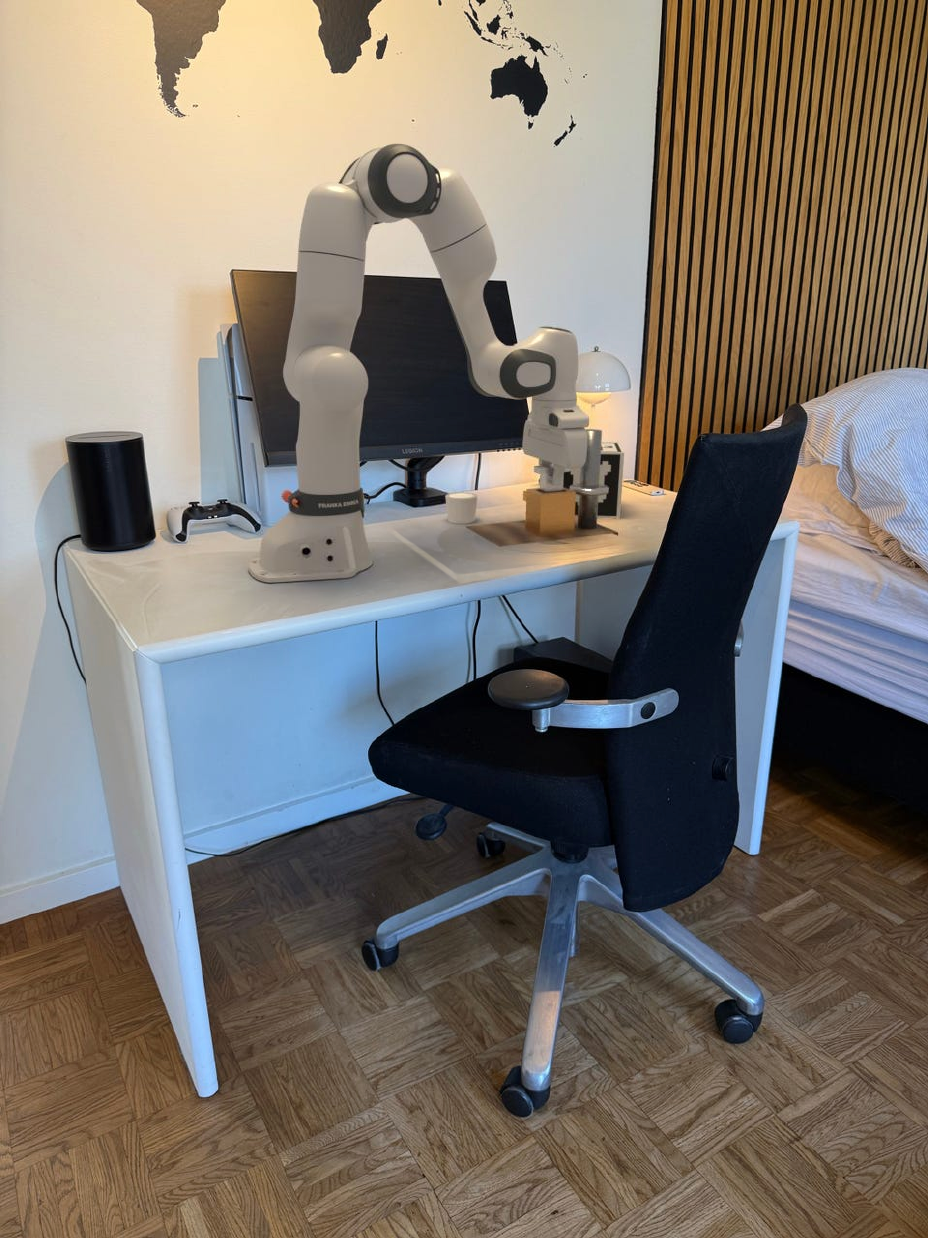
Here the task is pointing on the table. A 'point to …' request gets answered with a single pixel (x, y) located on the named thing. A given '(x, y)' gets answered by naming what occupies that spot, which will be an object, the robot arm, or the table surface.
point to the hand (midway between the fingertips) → (551, 483)
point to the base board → (529, 533)
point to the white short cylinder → (461, 507)
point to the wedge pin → (548, 479)
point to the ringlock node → (568, 498)
